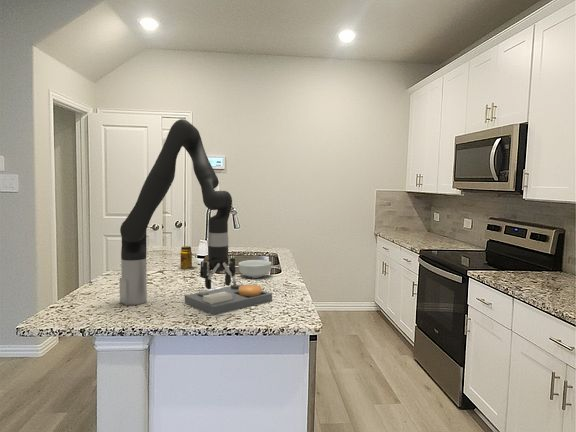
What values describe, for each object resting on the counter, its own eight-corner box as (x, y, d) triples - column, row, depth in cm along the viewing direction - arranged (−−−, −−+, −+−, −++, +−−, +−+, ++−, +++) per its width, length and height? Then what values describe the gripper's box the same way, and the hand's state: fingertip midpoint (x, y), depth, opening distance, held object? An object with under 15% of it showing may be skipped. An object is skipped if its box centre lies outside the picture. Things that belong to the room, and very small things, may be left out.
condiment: (177, 269, 226) (177, 247, 225) (186, 266, 234) (186, 245, 233) (188, 270, 224) (188, 248, 223) (197, 267, 232) (197, 246, 231)
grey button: (201, 296, 161) (201, 292, 161) (196, 294, 164) (196, 290, 164) (209, 295, 164) (209, 291, 164) (204, 293, 166) (204, 289, 166)
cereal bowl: (254, 271, 224) (254, 258, 223) (278, 276, 213) (278, 262, 213) (231, 276, 211) (231, 262, 210) (255, 281, 200) (255, 267, 199)
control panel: (213, 315, 149) (213, 303, 148) (184, 302, 163) (184, 292, 163) (272, 300, 168) (272, 290, 168) (241, 291, 182) (241, 281, 182)
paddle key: (211, 304, 152) (211, 298, 151) (202, 301, 155) (202, 295, 155) (232, 299, 158) (232, 294, 158) (224, 296, 162) (224, 291, 162)
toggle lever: (234, 285, 173) (232, 272, 174) (232, 285, 175) (229, 273, 176) (238, 284, 175) (235, 271, 176) (235, 285, 176) (233, 272, 177)
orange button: (248, 297, 161) (248, 291, 161) (234, 292, 168) (234, 287, 167) (266, 293, 167) (266, 287, 167) (251, 289, 174) (251, 283, 174)
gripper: (207, 247, 148) (207, 292, 149) (239, 243, 158) (239, 285, 159) (196, 245, 153) (196, 288, 154) (227, 241, 163) (227, 282, 164)
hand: (218, 287), depth 157 cm, fingers open, 8 cm apart
